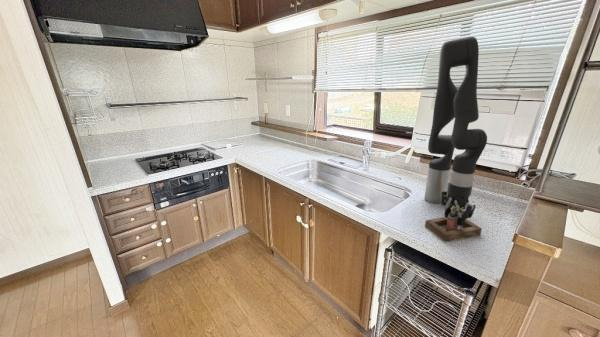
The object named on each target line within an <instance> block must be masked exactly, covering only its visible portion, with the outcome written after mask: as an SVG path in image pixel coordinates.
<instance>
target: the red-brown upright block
mask: <svg viewBox="0 0 600 337" xmlns="http://www.w3.org/2000/svg"><path fill="white" fill-rule="evenodd" d="M452 208H453V207H452ZM452 208H451V209H452ZM458 217H459V214H458V212H457V209H456V208H453V209H452V210H451V212H450V213H449V214H448V217H447V218H448V220H447V226H445V229H444V230H445V231H452V230H458V229H459V226H458V225H457V221H458Z"/></svg>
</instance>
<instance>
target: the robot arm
mask: <svg viewBox="0 0 600 337" xmlns="http://www.w3.org/2000/svg"><path fill="white" fill-rule="evenodd" d="M479 50H480V49H479V42H478V40H477V38H476V37H475V36H466V37H465V36H464V37H460V38H457V39H451V40H447V41H444V42H443V43H442V45H441V47H440V51H439V60H438V79H437V87H436V93H435V100H434V105H433V115H432V124H431V125H432V126H431V129H430V134H429V140H428V146H427V150H428V152H429V153H430V154H434V155H443V156H441V157H439V158H435V159H431V160H430V161H429V163H428V170H427V176H426V184H425V192H424V199H425V201H427V202H429V203H432V204H441V206H443V207H444V213H443V215H444V217H446V218H447V217H448V214H449V213H450V212H451V211H452V208H453V206H455V207H456V209H457V212H458V214H459V217H458V221H457V225H458V227H461V226H462V225H464V222H465V219H467V220H468V219H471V218H473V214H474V213H475V210H476V207H477V206H476V204H472V203H470V199H469V198H470V196H471V194H472V191H473V190H472V189H473V185H474V180H475V171H476V167H477V162H478V161H479V159H480V157H481V155H482V154H483V151H484V150H485V148H486V146H487V143H488V135H487V133H486V131H485V130H484V129H481V128H470V129H468V128H469V124H471V123H475V122H476V121H478V120H479V116H480V115H479V106H478V105H479V104H478V95H477V92H478V87H477V86H478V73H479V72H478V71H479V57H480V56H479V53H480V52H479ZM464 66H465V74H464V78H463V80H462V82H461V84H459V88H457V87H456V85H455V84H454V82H453V80H452V78H451V69H452V68H455V67H456V68H457V67H464ZM453 120H454V122H453V128H452V133H451V135H450V134H440V133H441V131H442V130H444V128H445V127H446V126H447V125H448V124H450V123H451V121H453ZM455 149H456V150H459V151H462V150H463V151H464V152H461V153H459V154H456V155H455V156H454V152H455ZM453 156H454V157H453ZM452 160H453V163H452ZM460 208H463V209H460ZM462 211H463V214H462Z"/></svg>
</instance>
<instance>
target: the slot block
mask: <svg viewBox="0 0 600 337" xmlns="http://www.w3.org/2000/svg"><path fill="white" fill-rule="evenodd" d="M447 220H448V218H446V217H445V216H443V217H438V218H431V219H426V220H425V223H424V227H425V228H426V229H428V230H429V231H430V232H432V233H433V234H434V235H435V236H437V238H440V239H441V240H442V241H443V242H444V243H447V242H453V241H457V240H458V241H459V240H462V239H463V240H464V239H467V238H473V237H476V236H477V237H478V236H481V234H482V229H483V228H482V227H480V226H478V225H477V224H475V223H474V222H472V221H471V220H469V219H468V218H467V219H465V222H464V225H462V226H460V227H461V228H458V230H452V231H445V229H444V228H442V227H446V226H447Z"/></svg>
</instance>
